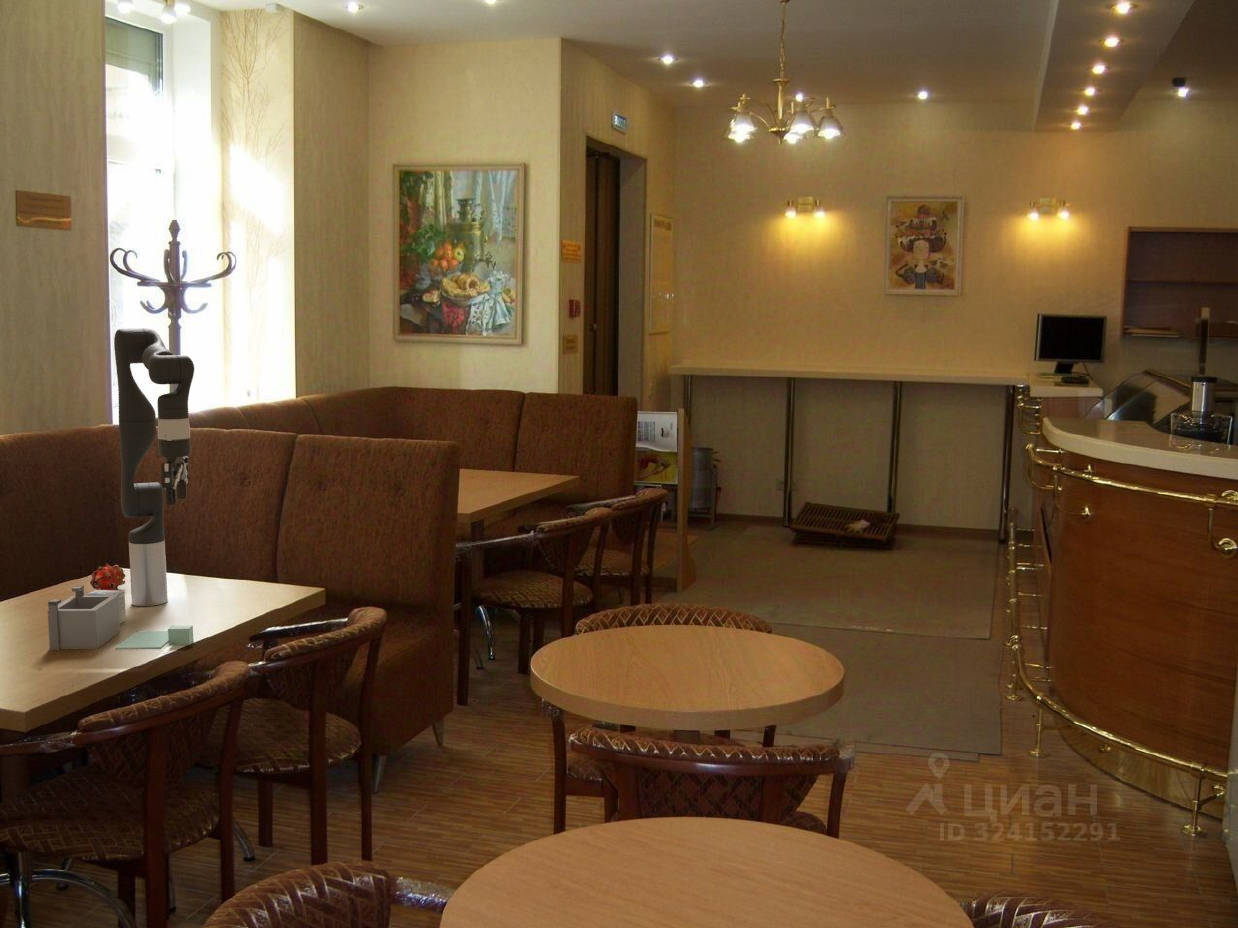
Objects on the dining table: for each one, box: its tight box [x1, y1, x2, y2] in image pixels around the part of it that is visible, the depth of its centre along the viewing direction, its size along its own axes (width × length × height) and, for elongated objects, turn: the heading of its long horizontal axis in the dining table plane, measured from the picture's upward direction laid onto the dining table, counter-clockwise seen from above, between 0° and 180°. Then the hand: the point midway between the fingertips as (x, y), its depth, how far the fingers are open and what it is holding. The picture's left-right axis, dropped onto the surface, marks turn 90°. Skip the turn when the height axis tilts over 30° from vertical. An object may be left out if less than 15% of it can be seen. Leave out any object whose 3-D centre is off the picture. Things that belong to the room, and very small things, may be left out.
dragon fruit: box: [89, 563, 126, 590], centre depth 343 cm, size 8×8×12 cm
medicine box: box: [86, 589, 127, 624], centre depth 307 cm, size 8×4×9 cm, turn 84°
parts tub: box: [47, 585, 121, 651], centre depth 290 cm, size 17×11×12 cm, turn 3°
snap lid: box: [114, 625, 195, 650], centre depth 291 cm, size 14×16×4 cm
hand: (177, 501), depth 298 cm, fingers open, 8 cm apart
